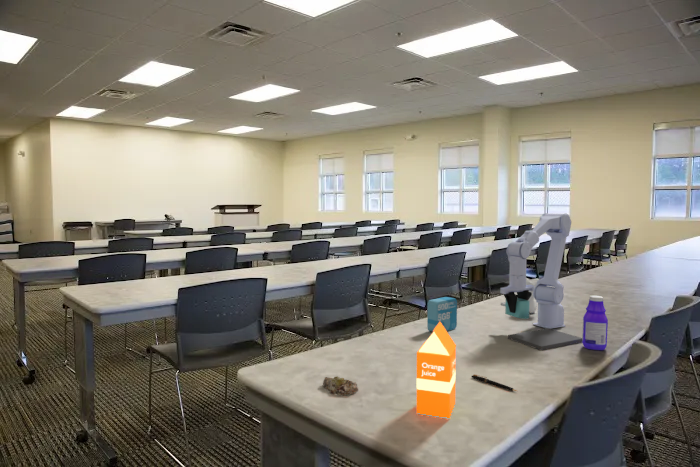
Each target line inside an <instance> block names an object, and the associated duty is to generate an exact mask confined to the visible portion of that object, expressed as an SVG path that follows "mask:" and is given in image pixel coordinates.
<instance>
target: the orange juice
mask: <svg viewBox="0 0 700 467" xmlns="http://www.w3.org/2000/svg"><path fill="white" fill-rule="evenodd" d="M433 331H434V332H431V334H430V335H429V337H428V338H427V339H426V340H425V341H424V342H423V344H422V345H421V347H420V348H419V349H418V351H416V414H417V413H420V414H426V415H432V416H439V417H447V418H450V419H451V417H450V416H452V414H451V413H453V411H454V409H453V408H455V406H454V405H456V380H457V379H456V376H457V375H456V372H457V371H456V370H457V368H456V362H457V361H456V360H457V359H456V355H457V354H456V353H457V352H456V351H457V350H456V349H457V348H456V347H457V344H456V343H455V342H454V340H453V338H452V337H451V336H450V334H449V333H448V331H446V329H445V328H444V326H443V325H442V323H441V322H439V323H438V325H437V326H436V327H435V329H434V330H433ZM452 410H453V411H452Z"/></svg>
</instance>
